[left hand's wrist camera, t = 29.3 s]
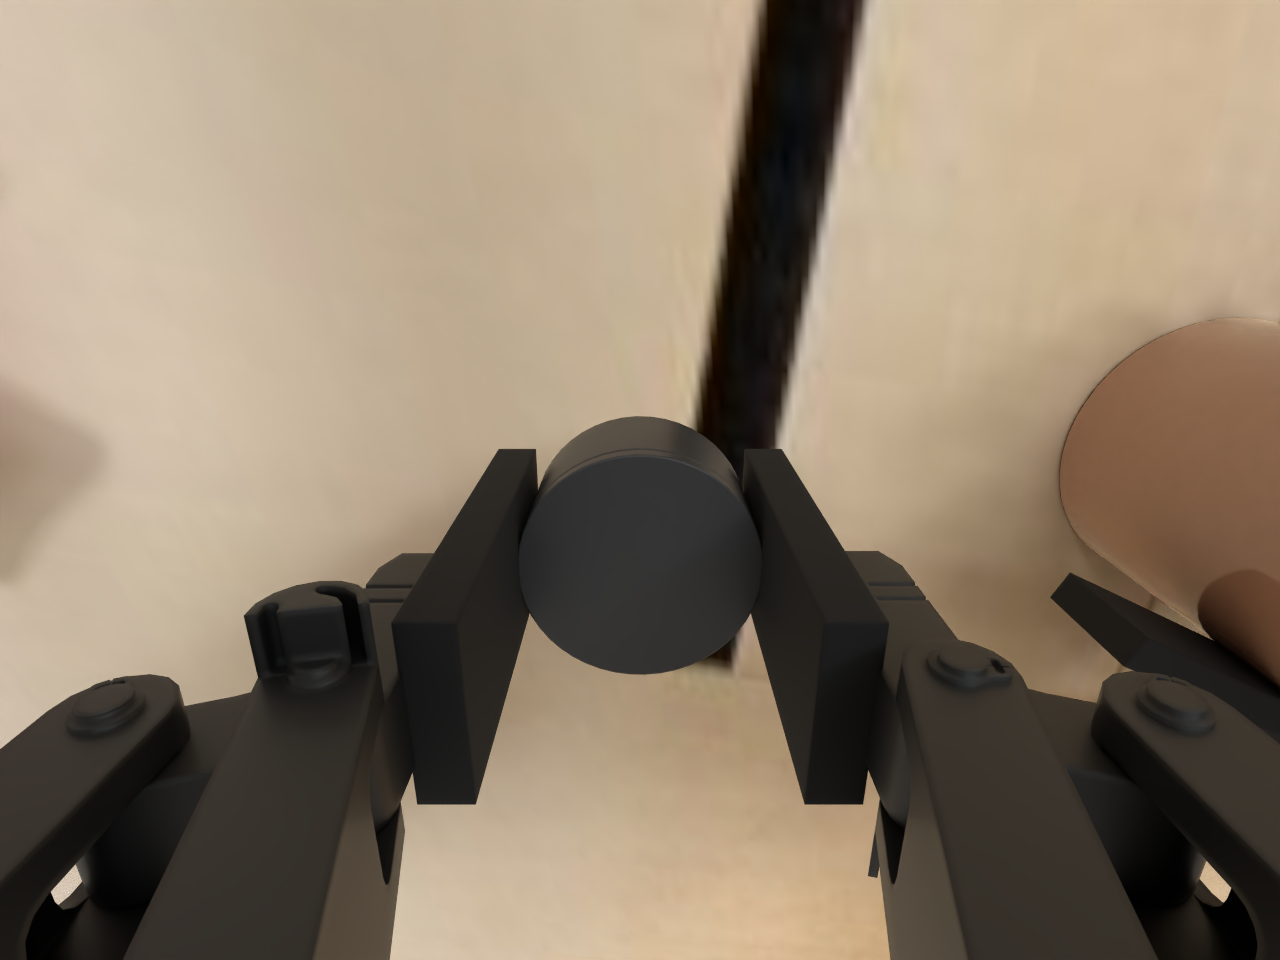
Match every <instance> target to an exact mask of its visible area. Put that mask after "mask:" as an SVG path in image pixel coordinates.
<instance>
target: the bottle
mask: <svg viewBox="0 0 1280 960" xmlns="http://www.w3.org/2000/svg"><path fill="white" fill-rule="evenodd" d="M1060 491H1061V499H1062V503H1063V506H1064V510H1065V513H1066V516H1067V518H1068V520H1069V522H1070V524H1071V526H1072V528H1073V529H1074V530H1075V532H1076V533H1077V535H1078V536H1079V537H1080V539H1081V540H1082V541H1083V542H1084V543H1085V544H1086V545H1087V546H1088V547H1089V548H1090V549H1092V550H1093V551H1095V552H1096V553H1097V554H1099V555H1100V556H1101V557H1103V558H1104V559H1105V560H1107V561H1108V562H1109V563H1111V564H1112V565H1113V566H1115V567H1116V568H1117V569H1119V570H1120V571H1121V572H1123V573H1124V574H1125V575H1127V576H1128V577H1129V578H1131V579H1132V580H1133V581H1135V582H1136V583H1137V584H1139V585H1140V586H1141V587H1143V588H1144V589H1146V590H1147V591H1148V592H1150V593H1151V594H1152V595H1154V596H1155V597H1156V598H1158V599H1159V600H1160V601H1162V602H1163V603H1164V604H1166V605H1167V606H1168V607H1170V608H1171V609H1172V610H1174V611H1175V612H1176V613H1178V614H1179V615H1180V616H1182V617H1183V618H1184V619H1186V620H1187V621H1188V622H1190V623H1191V624H1192V625H1194V626H1195V627H1197V628H1198V629H1199V630H1201V631H1202V632H1203V633H1205V634H1206V635H1207V636H1209V637H1210V638H1211V639H1213V640H1214V641H1215V642H1217V643H1218V644H1219V645H1221V646H1222V647H1223V648H1225V649H1226V650H1227V651H1229V652H1230V653H1231V654H1233V655H1234V656H1235V657H1237V658H1238V659H1239V660H1241V661H1242V662H1244V663H1245V664H1246V665H1248V666H1249V667H1250V668H1252V669H1253V670H1254V671H1256V672H1257V673H1258V674H1260V675H1261V676H1262V677H1264V678H1265V679H1266V680H1268V681H1269V682H1270V683H1272V684H1273V685H1274V686H1276V687H1277V688H1278V689H1280V323H1278V322H1273V321H1267V320H1261V319H1253V318H1239V317H1238V318H1222V319H1215V320H1210V321H1204V322H1199V323H1196V324H1193V325H1190V326H1187V327H1183V328H1180V329H1178V330H1175V331H1173V332H1171V333H1168V334H1166V335H1164V336H1162V337H1159V338H1158V339H1156V340H1154V341H1152V342H1151V343H1149V344H1147V345H1145V346H1144V347H1142V348H1140V349H1139V350H1138V351H1136V352H1135V353H1133V354H1132V355H1131V356H1129V357H1128V358H1126V359H1125V360H1124V361H1123V362H1122V363H1121V364H1119V365H1118V366H1117V367H1116V368H1115V369H1114V370H1113V371H1111V372H1110V373H1109V374H1108V375H1107V377H1106V378H1105V379H1104V380H1103V381H1102V382H1101V383H1100V384H1099V385H1098V386H1097V387H1096V389H1095V390H1094V391H1093V393H1092V394H1091V395H1090V397H1089V398H1088V399H1087V401H1086V402H1085V403H1084V405H1083V407H1082V408H1081V410H1080V412H1079V414H1078V415H1077V417H1076V419H1075V421H1074V423H1073V425H1072V427H1071V430H1070V432H1069V434H1068V437H1067V440H1066V443H1065V446H1064V450H1063V453H1062V459H1061V466H1060Z"/></svg>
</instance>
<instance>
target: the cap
mask: <svg viewBox="0 0 1280 960" xmlns="http://www.w3.org/2000/svg"><path fill="white" fill-rule="evenodd" d="M518 558H519V573H520V587H521V593H522V596H523V599H524V602H525V604H526V606H527V608H528V610H529V612H530V614H531V616H532V617H533V619H534V620H535V622H536V623H537V625H538V626H539V628H540V629H541V630H542V631H543V632H544V633H545V634H546V636H547V637H548V638H549V639H550V640H551V641H553V642H554V643H555V644H556V645H557V646H558V647H560V648H561V649H562V650H564V651H565V652H567V653H568V654H570V655H571V656H573V657H575V658H577V659H579V660H581V661H582V662H584V663H587V664H589V665H592V666H595V667H597V668H600V669H604V670H608V671H612V672H617V673H625V674H644V675H645V674H656V673H663V672H668V671H673V670H677V669H680V668H683V667H686V666H689V665H691V664H694V663H696V662H698V661H700V660H703V659H704V658H706V657H708V656H709V655H711V654H713V653H714V652H716V651H717V650H718V649H720V648H721V647H722V646H723V645H725V644H726V643H727V642H728V641H729V640H730V639H731V638H732V637H733V636H734V635H735V634H736V633H737V632H738V631H739V629H740V628H741V627H742V626H743V624H744V623H745V622H746V620H747V618H748V617H749V615H750V613H751V611H752V610H753V608H754V605H755V603H756V600H757V598H758V596H759V591H760V580H761V566H762V545H761V540H760V536H759V533H758V531H757V528H756V525H755V522H754V520H753V517H752V514H751V512H750V509H749V506H748V504H747V501H746V499H745V496H744V493H743V491H742V488H741V485H740V483H739V480H738V477H737V475H736V473H735V471H734V470H733V468H732V466H731V464H730V463H729V461H728V460H727V459H726V457H725V456H724V454H723V453H722V452H721V451H720V450H719V449H718V448H717V447H716V446H715V445H714V444H713V443H712V442H710V441H709V440H708V439H707V438H705V437H704V436H703V435H701V434H699V433H698V432H696V431H695V430H693V429H691V428H689V427H687V426H684V425H682V424H680V423H677V422H673V421H670V420H666V419H661V418H655V417H639V416H635V417H625V418H619V419H615V420H610V421H607V422H604V423H601V424H599V425H596V426H594V427H592V428H590V429H588V430H586V431H584V432H582V433H581V434H580V435H578V436H577V437H575V438H574V439H573V440H571V441H570V442H569V443H568V444H567V445H566V446H565V447H564V448H563V449H561V451H560V452H559V453H558V454H557V456H556V457H555V458H554V459H553V461H552V462H551V464H550V466H549V467H548V469H547V470H546V472H545V475H544V477H543V479H542V482H541V484H540V487H539V490H538V492H537V495H536V497H535V500H534V503H533V505H532V508H531V511H530V513H529V516H528V518H527V521H526V524H525V526H524V529H523V532H522V535H521V539H520V543H519V547H518Z"/></svg>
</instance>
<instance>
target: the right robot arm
mask: <svg viewBox="0 0 1280 960" xmlns="http://www.w3.org/2000/svg"><path fill="white" fill-rule="evenodd" d="M1050 598H1051V599H1052V600H1054V601H1055V602H1056V603H1057V604H1058V605H1059V606H1060V607H1061V608H1062V609H1063V610H1064V611H1065V612H1066V613H1067V614H1068V615H1070V616H1071V617H1072V618H1073V619H1074V620H1075V621H1076V622H1077V623H1078V624H1079V625H1080V626H1081V627H1082V628H1083V629H1085V630H1086V631H1087V632H1088V633H1089V634H1090V635H1091V636H1092V637H1093V638H1094V639H1095V640H1096V641H1097V642H1098V643H1099V644H1101V645H1102V646H1103V647H1104V648H1105V649H1106V650H1107V651H1108V652H1109V653H1110V654H1111V655H1112V656H1113V657H1114V658H1115V659H1117V660H1118V661H1119V662H1120V663H1121V664H1122V665H1123V666H1125V667H1127V668H1129V669H1131V670H1133V671H1136V672H1144V673H1157V674H1163V675H1168V676H1169V677H1170V678H1172V677H1175V678H1178V679H1181V680H1185V681H1187V682H1189V683H1190V684H1191V685H1194V686H1196V687H1198V688H1201V689H1203V690H1205V691H1208V692H1210V693H1212V694H1213V695H1215V696H1216V697H1218V698H1220V699H1221V700H1223V701H1224V702H1226V703H1227V704H1229V705H1230V706H1232V707H1234V708H1235V709H1236V710H1237V711H1239V712H1240V713H1241V714H1242V715H1244V716H1245V717H1246V718H1247V719H1249V720H1250V721H1251V722H1253V723H1254V724H1255V725H1256V726H1258V727H1259V728H1260V729H1261V730H1263V731H1264V732H1265V733H1266V734H1268V735H1269V736H1270V737H1271V738H1273V739H1274V740H1275V741H1276V742H1278V743H1279V744H1280V689H1278V688H1277V687H1276V686H1274V685H1273V684H1272V683H1270V682H1269V681H1268V680H1266V679H1265V678H1264V677H1262V676H1261V675H1260V674H1258V673H1257V672H1256V671H1254V670H1253V669H1252V668H1250V667H1249V666H1248V665H1246V664H1245V663H1244V662H1242V661H1241V660H1239V659H1238V658H1237V657H1235V656H1234V655H1233V654H1231V653H1230V652H1229V651H1227V650H1226V649H1225V648H1223V647H1222V646H1221V645H1219V644H1218V643H1217V642H1215V641H1213V640H1211V639H1209V638H1207V637H1205V636H1203V635H1200V634H1198V633H1196V632H1194V631H1192V630H1190V629H1188V628H1186V627H1184V626H1181V625H1179V624H1177V623H1175V622H1173V621H1171V620H1169V619H1167V618H1165V617H1162V616H1160V615H1158V614H1156V613H1154V612H1152V611H1150V610H1148V609H1146V608H1143V607H1141V606H1139V605H1137V604H1135V603H1133V602H1131V601H1129V600H1127V599H1125V598H1122V597H1120V596H1118V595H1116V594H1114V593H1112V592H1110V591H1108V590H1106V589H1103V588H1101V587H1099V586H1097V585H1095V584H1093V583H1091V582H1089V581H1087V580H1084V579H1082V578H1080V577H1078V576H1076V575H1074V574H1072V573H1069V575H1068V576H1067V577H1066V578H1065V580H1064V581H1063V582H1062V583H1061V585H1060V586H1059V587H1058V588H1057V590H1056V591H1055V592H1054V593H1053V595H1052V596H1051V597H1050Z"/></svg>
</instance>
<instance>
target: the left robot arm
mask: <svg viewBox="0 0 1280 960" xmlns="http://www.w3.org/2000/svg"><path fill="white" fill-rule="evenodd" d="M742 491H743V493H744V496H745V499H746V501H747V504H748V506H749V509H750V512H751V514H752V517H753V520H754V522H755V525H756V528H757V531H758V533H759V536H760V540H761V545H762V566H761V580H760V591H759V596H758V598H757V600H756V603H755V605H754V608H753V610H752V611H751V615H752V619H753V622H754V626H755V630H756V633H757V637H758V640H759V644H760V647H761V651H762V654H763V658H764V661H765V665H766V669H767V672H768V676H769V679H770V683H771V686H772V690H773V693H774V697H775V701H776V704H777V708H778V711H779V715H780V718H781V722H782V725H783V729H784V732H785V736H786V740H787V743H788V747H789V750H790V754H791V757H792V761H793V764H794V768H795V772H796V775H797V779H798V782H799V786H800V789H801V793H802V796H803V800H804V803H805V804H863V801H864V794H865V787H866V781H867V774H868V770H869V773H870V775H871V777H872V780H873V782H874V785H875V787H876V789H877V792H878V794H879V797H880V802H879V808H878V815H877V821H876V827H875V834H874V840H873V846H872V853H871V859H870V866H869V873H868V876H871V877H876V878H877V877H878V871H879V866H880V875H881V883H882V891H883V900H884V908H885V917H886V925H887V933H888V942H889V950H890V958H891V960H1280V744H1279V743H1278V742H1276V741H1275V740H1274V739H1273V738H1271V737H1270V736H1269V735H1268V734H1266V733H1265V732H1264V731H1263V730H1261V729H1260V728H1259V727H1258V726H1256V725H1255V724H1254V723H1253V722H1251V721H1250V720H1249V719H1247V718H1246V717H1245V716H1244V715H1242V714H1241V713H1240V712H1239V711H1237V710H1236V709H1235V708H1234V707H1232V706H1230V705H1229V704H1227V703H1226V702H1224V701H1223V700H1221V699H1220V698H1218V697H1216V696H1215V695H1213V694H1212V693H1210V692H1208V691H1205V690H1203V689H1201V688H1198V687H1196V686H1194V685H1191V684H1190V683H1189V682H1187V681H1185V680H1181V679H1178V678H1175V677H1172V678H1170V677H1169V676H1168V675H1163V674H1157V673H1144V672H1134V671H1130V672H1124V673H1118V674H1113V675H1111V676H1110V677H1109V678H1108V679H1106V680H1105V681H1104V682H1103V683H1102V687H1101V690H1100V694H1099V697H1098V701H1097V703H1092V702H1087V701H1082V700H1077V699H1072V698H1067V697H1062V696H1056V695H1051V694H1046V693H1042V692H1038V691H1034V690H1030V689H1028V688H1027V686H1026V684H1025V682H1024V680H1023V678H1022V676H1021V675H1020V674H1019V673H1018V671H1017V670H1016V669H1015V668H1014V666H1013V665H1012V664H1011V663H1010V662H1008V661H1007V660H1005V659H1004V658H1002V657H1001V656H999V655H998V654H996V653H995V652H993V651H991V650H988V649H986V648H983V647H981V646H978V645H976V644H973V643H969V642H965V641H960V640H958V639H957V638H956V636H955V635H954V634H953V632H952V631H951V630H950V628H949V627H948V626H947V624H946V623H945V622H944V620H943V619H942V618H941V616H940V615H939V614H938V613H937V611H936V610H935V609H934V607H933V606H932V605H931V603H930V602H929V601H928V600H926V599H925V598H926V597H925V595H924V594H923V593H922V591H921V590H920V589H919V588H918V586H915V582H914V581H913V580H912V578H911V577H910V576H909V574H908V573H907V572H906V570H905V569H904V568H903V566H902V565H900V564H898V563H897V562H895V561H893V560H892V559H890V558H889V557H887V556H885V555H884V554H882V553H881V552H879V551H844V549H843V547H842V546H841V544H840V543H839V541H838V539H837V538H836V536H835V534H834V533H833V531H832V530H831V528H830V526H829V525H828V523H827V522H826V520H825V518H824V517H823V515H822V513H821V512H820V510H819V509H818V507H817V505H816V504H815V502H814V501H813V499H812V497H811V496H810V494H809V493H808V491H807V489H806V488H805V486H804V484H803V483H802V481H801V480H800V478H799V476H798V475H797V473H796V472H795V470H794V468H793V467H792V465H791V463H790V462H789V460H788V459H787V457H786V455H785V454H784V452H783V451H782V449H745V452H744V470H743V488H742ZM537 492H538V480H537V462H536V449H499V450H498V451H497V453H496V455H495V456H494V458H493V459H492V461H491V463H490V464H489V466H488V467H487V469H486V471H485V472H484V474H483V476H482V477H481V479H480V480H479V482H478V484H477V485H476V487H475V488H474V490H473V492H472V493H471V495H470V497H469V498H468V500H467V501H466V503H465V505H464V506H463V508H462V509H461V511H460V513H459V514H458V516H457V517H456V519H455V521H454V522H453V524H452V526H451V527H450V529H449V530H448V532H447V534H446V535H445V537H444V538H443V540H442V542H441V543H440V545H439V547H438V548H437V550H436V551H435V553H402V554H401V555H399V556H397V557H396V558H394V559H393V560H391V561H389V562H388V563H386V564H385V565H383V566H381V567H380V568H379V569H378V570H377V571H376V573H375V574H374V575H373V576H372V578H371V579H370V580H369V582H368V583H367V584H366V588H361V587H360V586H359V585H356V584H352V583H347V582H343V581H318V582H313V583H307V584H302V585H296V586H293V587H290V588H288V589H285V590H282V591H279V592H276V593H273V594H272V595H270V596H268V597H266V598H265V599H263V600H261V601H259V602H258V603H256V604H255V605H254V606H253V607H252V608H251V609H250V610H249V611H248V612H247V613H246V614H245V615H244V619H245V623H246V627H247V632H248V636H249V640H250V645H251V649H252V653H253V658H254V662H255V666H256V671H257V675H258V679H257V681H256V683H255V685H254V687H253V690H252V692H250V693H247V694H243V695H239V696H235V697H230V698H224V699H219V700H214V701H209V702H204V703H199V704H194V705H189V706H184V702H183V699H182V695H181V692H180V688H179V685H178V684H176V683H175V682H174V681H172V680H171V679H170V678H169V677H163V676H157V675H151V674H149V675H138V676H125V677H120V678H115V679H113V680H112V681H110V680H107V681H104V682H101V683H98V684H95V685H93V686H92V687H91V688H88V689H86V690H84V691H81V692H79V693H77V694H75V695H72V696H70V697H69V698H67V699H66V700H64V701H63V702H61V703H59V704H58V705H56V706H55V707H53V708H52V709H50V710H49V711H47V712H46V713H45V714H44V715H42V716H41V717H40V718H39V719H37V720H36V721H35V722H34V723H32V724H31V725H30V726H29V727H27V728H26V729H25V730H24V731H22V732H21V733H20V734H19V735H17V736H16V737H15V738H14V739H12V740H11V741H10V742H9V743H7V744H6V745H5V746H4V747H2V748H1V749H0V960H390V952H391V943H392V935H393V927H394V918H395V910H396V901H397V893H398V885H399V876H400V868H401V859H402V851H403V843H404V834H405V828H404V821H403V815H402V808H401V802H400V801H401V799H402V797H403V794H404V792H405V789H406V787H407V784H408V782H409V780H410V777H411V775H412V772H413V777H414V784H415V791H416V798H417V804H476V802H477V798H478V794H479V791H480V787H481V784H482V780H483V777H484V773H485V770H486V766H487V763H488V759H489V755H490V752H491V748H492V745H493V741H494V738H495V734H496V731H497V727H498V723H499V720H500V716H501V713H502V709H503V706H504V702H505V699H506V695H507V691H508V688H509V684H510V681H511V677H512V674H513V670H514V667H515V663H516V659H517V656H518V652H519V649H520V645H521V642H522V638H523V635H524V631H525V628H526V624H527V620H528V617H529V613H530V612H529V610H528V608H527V606H526V604H525V602H524V599H523V596H522V593H521V587H520V573H519V558H518V547H519V543H520V539H521V535H522V532H523V529H524V526H525V524H526V521H527V518H528V516H529V513H530V511H531V508H532V505H533V503H534V500H535V497H536V495H537ZM1206 861H1207V862H1208V863H1209V864H1210V865H1211V866H1212V867H1213V868H1214V869H1215V870H1216V872H1217V873H1218V874H1219V875H1220V876H1221V877H1222V878H1223V879H1224V880H1225V881H1226V882H1227V884H1228V885H1229V886H1230V887H1231V891H1230V893H1229V896H1228V898H1227V900H1226V901H1225V902H1224V903H1223V902H1221V901H1220V900H1219V899H1218V898H1217V897H1216V896H1215V895H1214V894H1212V893H1211V892H1210V890H1209V889H1208V888H1207V887H1206V886H1205V885H1204V884H1203V882H1202V881H1201V880H1200V879H1199V878H1200V876H1201V873H1202V871H1203V868H1204V865H1205V863H1206ZM75 864H76V866H77V869H78V871H79V874H80V877H81V879H82V883H81V884H80V885H79V886H78V887H77V888H76V889H75V891H74V892H73V893H72V894H71V895H70V896H69V897H68V898H66V899H65V900H64V901H63V902H62V903H60V904H59V905H58V904H56V903H55V901H54V899H53V896H52V894H51V891H52V890H53V888H54V887H55V886H56V885H57V884H58V883H59V882H60V881H61V880H62V878H63V877H64V876H65V875H66V874H67V873H68V872H69V871H70V870H71V869H72V867H73V866H74V865H75Z"/></svg>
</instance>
